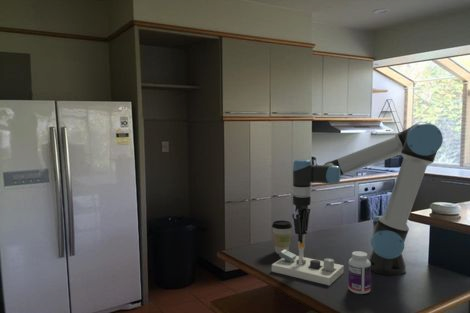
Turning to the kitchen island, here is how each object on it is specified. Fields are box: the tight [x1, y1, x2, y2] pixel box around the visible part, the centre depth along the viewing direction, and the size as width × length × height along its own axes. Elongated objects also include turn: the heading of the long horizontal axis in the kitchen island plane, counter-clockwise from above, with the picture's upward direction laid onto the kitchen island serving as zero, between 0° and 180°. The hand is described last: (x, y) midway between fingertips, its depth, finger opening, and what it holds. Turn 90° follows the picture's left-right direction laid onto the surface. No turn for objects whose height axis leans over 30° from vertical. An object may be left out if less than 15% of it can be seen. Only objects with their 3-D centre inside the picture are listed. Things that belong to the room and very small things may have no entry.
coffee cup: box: [271, 219, 293, 255], centre depth 188 cm, size 10×10×15 cm
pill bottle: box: [347, 250, 372, 295], centre depth 144 cm, size 8×8×14 cm
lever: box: [297, 242, 305, 263], centre depth 164 cm, size 3×3×9 cm
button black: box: [310, 259, 321, 270], centre depth 161 cm, size 4×4×4 cm
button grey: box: [323, 258, 335, 272], centre depth 157 cm, size 4×4×4 cm
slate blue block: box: [278, 249, 297, 262], centre depth 168 cm, size 6×4×2 cm
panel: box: [271, 255, 345, 286], centre depth 163 cm, size 26×16×5 cm, turn 55°
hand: (301, 248), depth 166 cm, fingers closed
